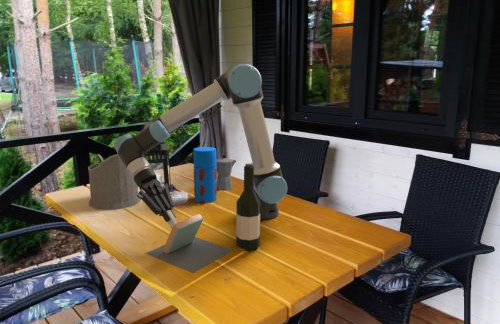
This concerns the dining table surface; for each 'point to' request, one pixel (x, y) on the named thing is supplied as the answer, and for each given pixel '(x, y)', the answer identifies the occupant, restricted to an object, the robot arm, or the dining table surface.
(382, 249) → the dining table surface
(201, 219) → the tile
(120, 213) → the dining table surface
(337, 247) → the dining table surface
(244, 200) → the wine bottle
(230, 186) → the coffeepot
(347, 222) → the dining table surface
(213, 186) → the thermos
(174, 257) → the mat
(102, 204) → the pitcher
